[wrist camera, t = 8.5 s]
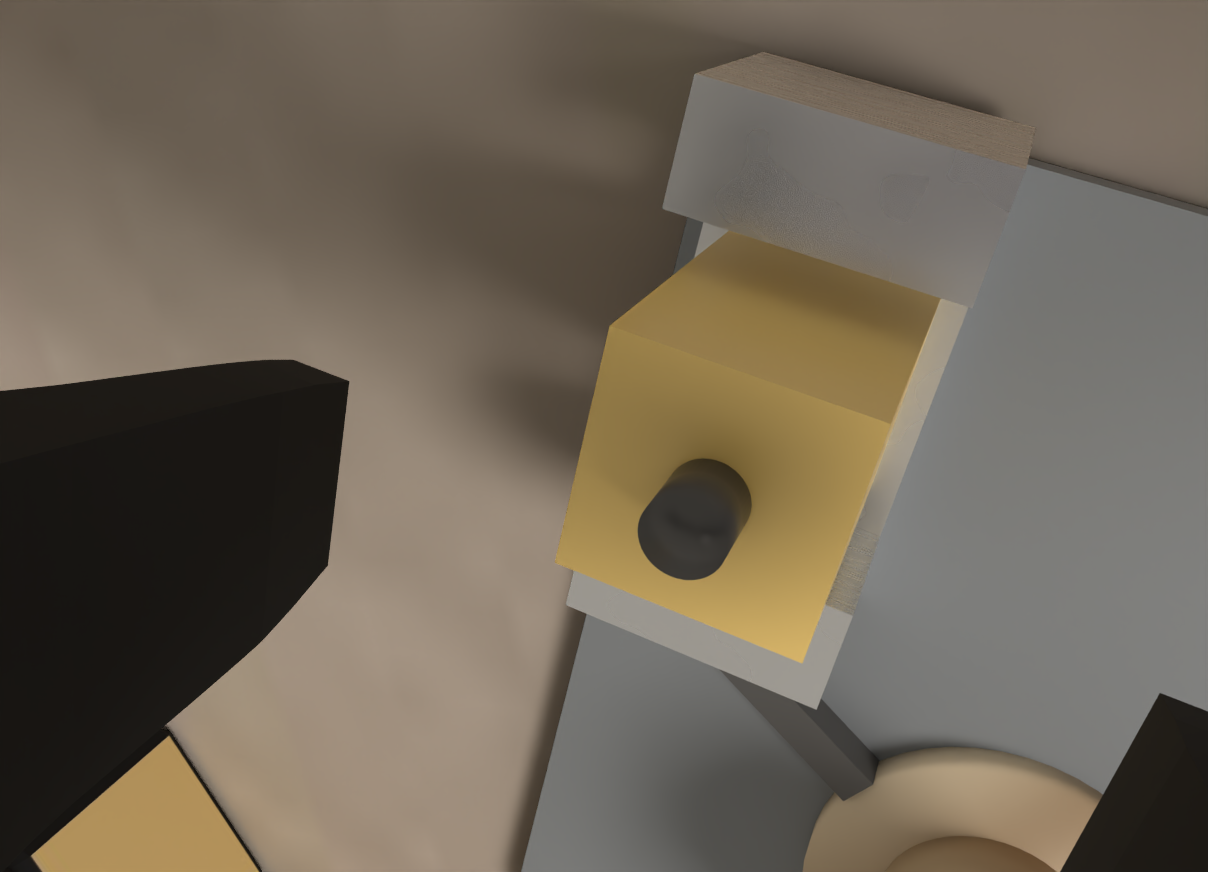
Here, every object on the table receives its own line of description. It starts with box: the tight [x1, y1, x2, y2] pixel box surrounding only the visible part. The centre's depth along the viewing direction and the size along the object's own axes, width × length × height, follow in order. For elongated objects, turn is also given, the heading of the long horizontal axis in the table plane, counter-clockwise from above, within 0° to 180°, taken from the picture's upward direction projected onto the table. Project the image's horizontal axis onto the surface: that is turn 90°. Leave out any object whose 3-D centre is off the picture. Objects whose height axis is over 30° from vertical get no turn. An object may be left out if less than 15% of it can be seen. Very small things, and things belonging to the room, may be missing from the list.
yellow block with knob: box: [555, 231, 941, 663], centre depth 15 cm, size 3×3×6 cm
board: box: [521, 158, 1208, 872], centre depth 19 cm, size 18×18×1 cm
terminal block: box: [566, 52, 1036, 710], centre depth 17 cm, size 4×8×4 cm, turn 167°
